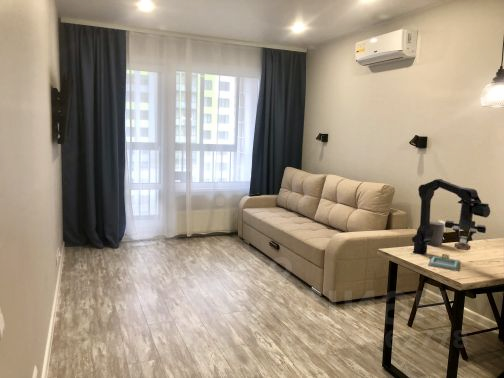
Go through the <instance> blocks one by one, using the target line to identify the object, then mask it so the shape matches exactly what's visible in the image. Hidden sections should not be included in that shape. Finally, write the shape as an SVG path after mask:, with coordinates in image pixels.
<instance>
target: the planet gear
mask: <svg viewBox="0 0 504 378" xmlns="http://www.w3.org/2000/svg"><path fill="white" fill-rule="evenodd" d="M467 239H468V236H465V235H464V236H463V235H462V236H461V235H459V242H456V243H455V242H454V245H453V246H454V247H453V248H455V249H456V250H461V251H470V250H471V247H472V246H471V245H470V244H469V243H468V244H467Z"/></svg>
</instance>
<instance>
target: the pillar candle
mask: <svg viewBox="0 0 504 378" xmlns="http://www.w3.org/2000/svg"><path fill="white" fill-rule="evenodd" d="M430 227H431V229H433V236H432V239H430V241H429V242H427V246H430V247H442V245H443V237H444V229H445V223H443V222H440V221H436V220H435V221H434V220H430Z"/></svg>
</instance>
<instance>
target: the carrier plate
mask: <svg viewBox="0 0 504 378" xmlns="http://www.w3.org/2000/svg"><path fill="white" fill-rule="evenodd" d="M460 263H461V261H460V260H458V259H453V258H450V255H449V254H446V253H444V254H443V253H442V254H441V256H436V255H435V256H434V255H432V256H431V257H430V259H429V261H428V264H427V265H428V267H433V268H439V269H445V270H451V271H455V270H456V272H458V271H459V268H460Z"/></svg>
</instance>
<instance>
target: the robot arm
mask: <svg viewBox="0 0 504 378" xmlns="http://www.w3.org/2000/svg"><path fill="white" fill-rule="evenodd" d="M417 189H418V197H419V198H420V221H419V226H418V228H417V230H416V234H415V235H414V236H413V237H411V242H412V243H414V245H413V251H412V253H413V254H418V255H424V256H425V255H426V254H427V252H428V245H427V242H429V241H430V239H432V236H433V229H431V227H430V221H431V203H432V202H431V201H432V199H433V197H434V196H435V195H434V194H435V191H437V190H439V189H442V190H445V191H447V192H450V193H453V194H454V195H456V196H457V197H458V198H460V200H458V201H457V204H461V207H460V212H459V220H458V223H455V221H453V220H445V221H444V228H448V229H452V230H453V231H454V232H455V234H456V238H457V243H459V239H460V231H463V230H464V231H469V233H468V236H467V244H469V242H470V239H471V238H472V236H473V235H474V234H477V232H478V233H483V234H486V231H487V227H486V225H484V224H483V225H482V224H477V225H476V221H475V220H473V216H477V217H481V218H482V217H483V218H485V219H486V218H489V216H490V214H491V208H490V206H489V205H490V204H489V203H485V202H484V203H483V202H482V200H481V198H480V197H479V195H478V191H477V190H476V189H475V188H469V187H463V186H460V185H457V184H454V183H452V182H448V181H446V180H444V179H442V178H436V179H434V180H431V181H429V182H427V183H425V184H424V183H423V184H420V185H419V186H418V188H417Z"/></svg>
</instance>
